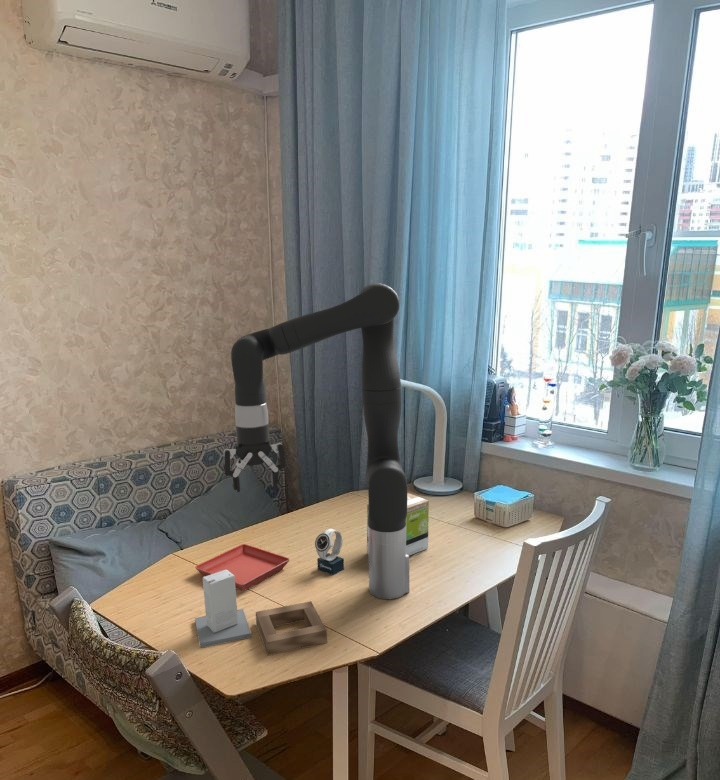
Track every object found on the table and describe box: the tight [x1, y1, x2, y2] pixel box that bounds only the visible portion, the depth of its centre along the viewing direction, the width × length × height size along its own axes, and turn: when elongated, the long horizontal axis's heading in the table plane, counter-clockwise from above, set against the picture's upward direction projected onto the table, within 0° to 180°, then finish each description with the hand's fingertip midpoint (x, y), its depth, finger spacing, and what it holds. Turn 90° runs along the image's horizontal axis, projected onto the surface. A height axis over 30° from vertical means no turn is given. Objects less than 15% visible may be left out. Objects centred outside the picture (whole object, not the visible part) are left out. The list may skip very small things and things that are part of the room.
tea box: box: [366, 492, 430, 557], centre depth 186 cm, size 15×10×15 cm, turn 131°
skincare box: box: [202, 570, 238, 633], centre depth 148 cm, size 6×4×12 cm
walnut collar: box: [255, 601, 328, 656], centre depth 148 cm, size 13×13×3 cm
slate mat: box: [194, 608, 252, 648], centre depth 150 cm, size 11×11×1 cm
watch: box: [314, 528, 345, 576], centre depth 176 cm, size 6×8×11 cm
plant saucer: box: [195, 543, 291, 591], centre depth 177 cm, size 18×18×3 cm
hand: (255, 488), depth 158 cm, fingers open, 8 cm apart
